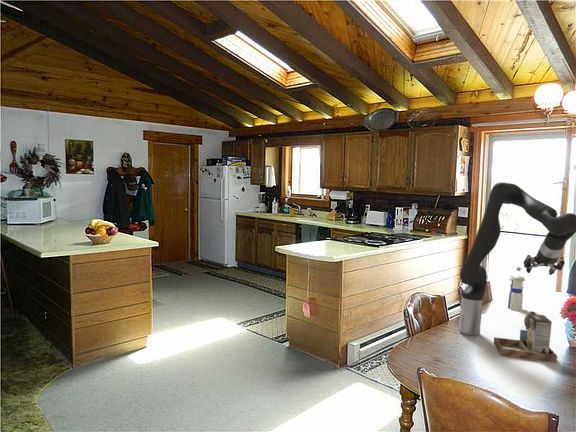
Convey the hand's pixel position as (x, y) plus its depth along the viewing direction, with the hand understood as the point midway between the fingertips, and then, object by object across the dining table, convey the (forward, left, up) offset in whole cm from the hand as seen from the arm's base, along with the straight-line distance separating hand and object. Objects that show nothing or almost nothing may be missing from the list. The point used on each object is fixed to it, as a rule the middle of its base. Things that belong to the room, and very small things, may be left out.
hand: (538, 272), depth 183 cm
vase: (+8, +31, -35) cm, 47 cm away
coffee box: (0, -6, -35) cm, 35 cm away
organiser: (-5, -6, -35) cm, 35 cm away
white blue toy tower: (+9, +68, -35) cm, 77 cm away
